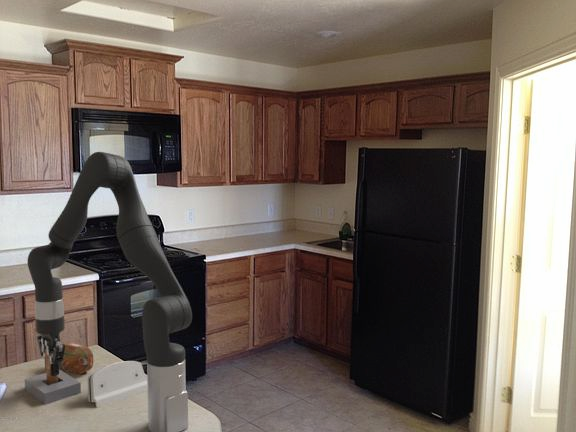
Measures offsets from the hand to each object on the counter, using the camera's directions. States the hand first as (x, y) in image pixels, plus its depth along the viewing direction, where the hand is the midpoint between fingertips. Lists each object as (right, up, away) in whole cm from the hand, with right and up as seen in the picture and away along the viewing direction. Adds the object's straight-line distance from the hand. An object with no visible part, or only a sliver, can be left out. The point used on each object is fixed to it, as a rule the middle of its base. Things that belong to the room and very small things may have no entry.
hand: (52, 373), depth 152 cm
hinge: (+19, -6, -1) cm, 20 cm away
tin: (0, -4, +15) cm, 16 cm away
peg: (0, -3, 0) cm, 3 cm away
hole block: (0, -5, 0) cm, 5 cm away
